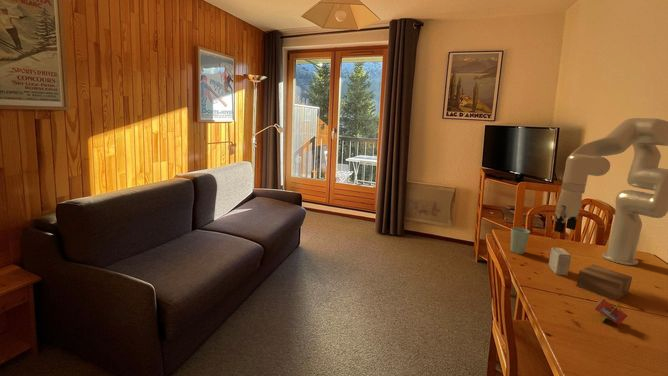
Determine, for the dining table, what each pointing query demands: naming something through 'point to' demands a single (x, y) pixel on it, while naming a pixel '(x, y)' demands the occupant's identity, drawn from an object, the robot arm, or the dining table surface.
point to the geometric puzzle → (610, 312)
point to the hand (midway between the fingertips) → (564, 230)
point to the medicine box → (559, 261)
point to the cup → (519, 240)
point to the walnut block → (604, 282)
